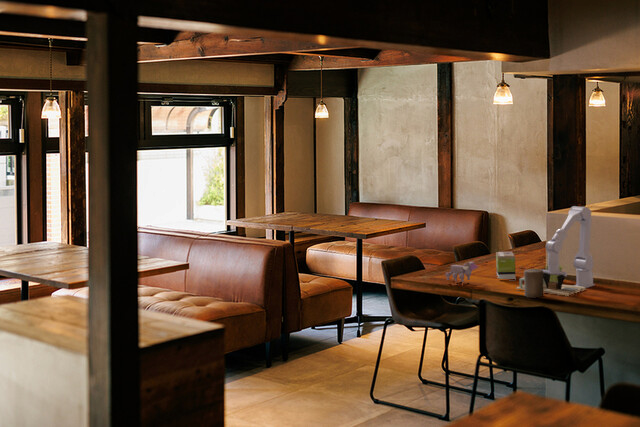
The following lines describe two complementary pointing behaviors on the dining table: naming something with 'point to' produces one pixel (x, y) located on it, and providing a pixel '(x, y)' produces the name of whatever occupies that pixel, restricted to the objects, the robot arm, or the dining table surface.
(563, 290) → the slate pad
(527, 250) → the dining table surface
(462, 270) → the toy sheep
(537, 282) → the pillar candle
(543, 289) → the puzzle board
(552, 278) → the plant pot
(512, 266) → the tea box
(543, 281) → the sled cover
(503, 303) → the dining table surface
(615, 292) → the dining table surface
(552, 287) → the walnut block
